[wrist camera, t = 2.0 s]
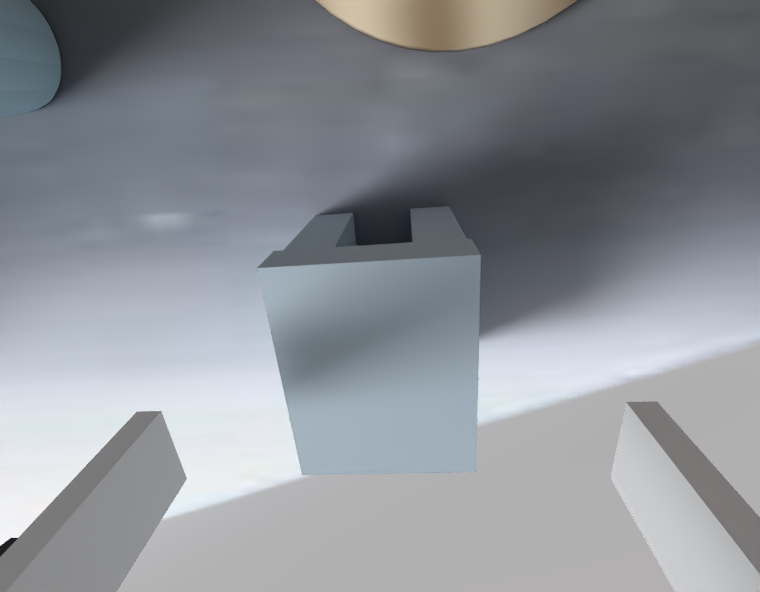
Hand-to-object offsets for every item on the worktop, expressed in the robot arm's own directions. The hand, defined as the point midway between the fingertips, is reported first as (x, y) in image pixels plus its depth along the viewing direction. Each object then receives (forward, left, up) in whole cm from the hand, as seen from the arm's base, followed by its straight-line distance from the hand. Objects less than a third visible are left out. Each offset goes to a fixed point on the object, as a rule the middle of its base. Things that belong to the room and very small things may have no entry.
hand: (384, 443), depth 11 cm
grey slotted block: (0, 0, -12) cm, 12 cm away
